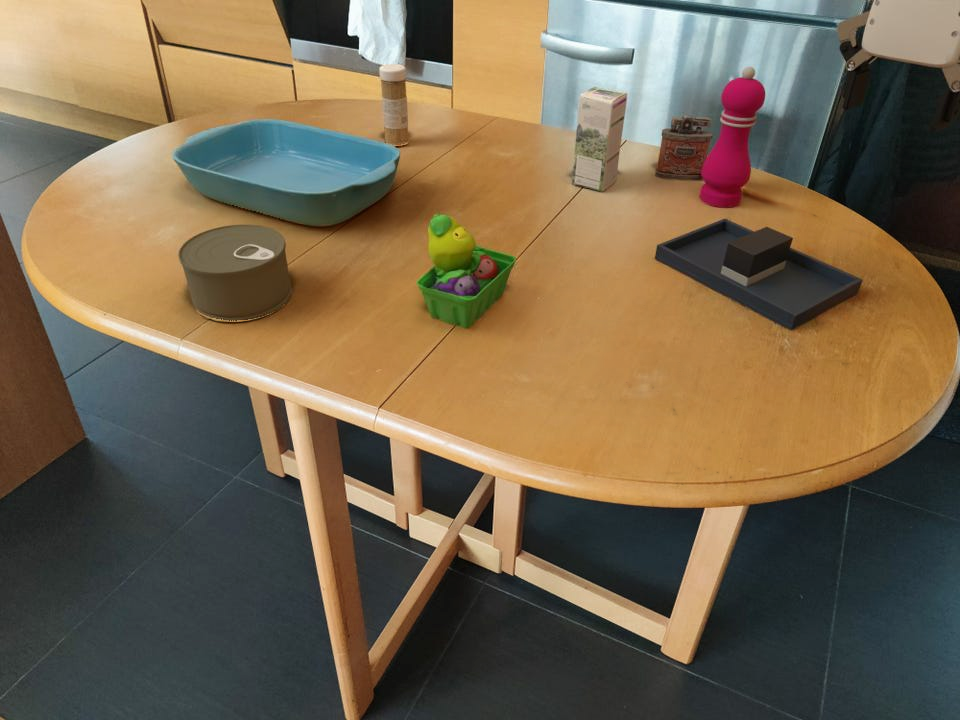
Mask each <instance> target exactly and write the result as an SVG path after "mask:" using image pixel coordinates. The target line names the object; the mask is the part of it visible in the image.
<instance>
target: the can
mask: <svg viewBox="0 0 960 720" xmlns="http://www.w3.org/2000/svg"><path fill="white" fill-rule="evenodd" d="M286 245H287V244H286V239H285V238H284V236H283V235H282V233H280V232H278V230H276V229H273V228H271V227H267V226H263V225H257V224H232V225H231V224H230V225H224V226H218V227H214V228H211V229H207V230H205V231H202V232H200V233H198V234H195V235H194V236H192V237H190V238H189V239H187V240H186V241H185V242H184V243H183V244H182V245H181V246H180V248H179V250H178V254H177V255H178V260H179V262H180V264H181V267H182V268H183V272H184V276H185V279H186V283H187V287H188V291H189V294H190V297H191V300H192V305H194V306H193V308H194V307H195V308H196V310H198V311H199V312H200V313H202V314H204V315H206V316H209V317H212V318H216V319H221V320H222V319H223V320H229V321H230V320H231V321H232V320H233V321H234V320H235V321H237V320H248V319H254V318H258V317H262V316H265V315H267V314H270V313H272V312H274V311H276V310H278V309H279V308H281V307H282V306H283V305H284V304H286V302H287V301H288V300H289V301H290V299H291V297H292V293H291V292H292V285H291V280H290V273H289V267H288V260H287V254H286ZM289 298H290V299H289ZM289 301H288V302H289ZM288 302H287V303H288ZM286 305H287V304H286ZM283 307H284V306H283ZM283 307H282V308H283ZM195 308H194V309H195ZM282 308H281V309H282ZM196 310H195V311H196ZM278 311H279V310H278Z"/></svg>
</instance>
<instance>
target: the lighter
mask: <svg viewBox="0 0 960 720" xmlns="http://www.w3.org/2000/svg"><path fill="white" fill-rule="evenodd" d="M711 123H712V119H711V118H710V117H706V116H705V117H704V116H696V117H692V116H691V115H690V114H684V115H683V116H671V121H670V128H663V129H662V130H661V141H660V148H659V154H658V160H657V165H656V168H655V172H654V176H655V177H656V178H659V179H665V180H672V181H673V180H674V181H688V182H689V181H691V182H692V181H695V182H696V181H698V182H699V181H704V180H703V178H702V175H701V171H702V168H703V164H704V162H705V160H706V158H707V157H708V155H709V150H710V145H711V141H712V139H713V136H714V133H713V132H712V131H710V130H705V129H702V128H710V127H711ZM694 127H696V128H694Z"/></svg>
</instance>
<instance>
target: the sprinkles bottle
mask: <svg viewBox="0 0 960 720" xmlns="http://www.w3.org/2000/svg"><path fill="white" fill-rule="evenodd" d="M378 69H379V70H378V71H379V73H378V74H379V79H380V86H381V101H382V102H381V104H382V119H383V120H382V122H383V130H384V143H385V142H386V143H388V144H392V145H401V144H405V143H407V142H408V141H409V142H410V139H409V114H408V111H409V110H408V96H407V85H406V82H407V68H406V66H405V65H403V64H399V63H388V64H387V63H386V64H383V65H381V66H380V67H379V68H378Z"/></svg>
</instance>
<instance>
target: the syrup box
mask: <svg viewBox="0 0 960 720" xmlns="http://www.w3.org/2000/svg"><path fill="white" fill-rule="evenodd" d="M627 102H628V92H624V91H619V90H612V89H607V88H603V87H597V86H594V87H592V88H589V89H587V90H586V91H585V90H584V92H582V93H581V94H580V95H579V98H578V109H577V120H576V130H575V139H574V140H575V142H574V153H573V154H574V155H573V163H572V176H571V185H574V186H578V187H581V188H585V189H588V188H589V189H588V190H593V191H597V192H601V193H603V192H605V191H606V190H607V189H609V188H610V187H611V186H612V185H614V184H615V183H616V182H617V178H618V170H619V161H620V153H621V147H622V146H621V145H622V137H623V130H624V123H625V117H626V109H627ZM609 186H610V187H609ZM605 189H606V190H605Z"/></svg>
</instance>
